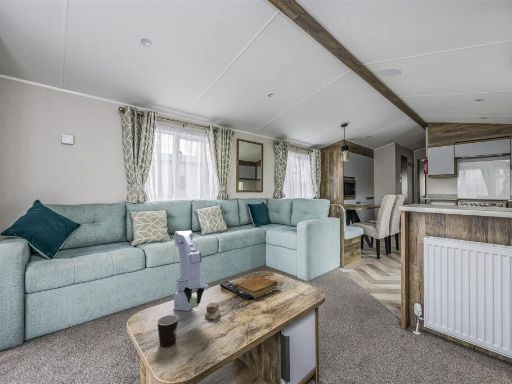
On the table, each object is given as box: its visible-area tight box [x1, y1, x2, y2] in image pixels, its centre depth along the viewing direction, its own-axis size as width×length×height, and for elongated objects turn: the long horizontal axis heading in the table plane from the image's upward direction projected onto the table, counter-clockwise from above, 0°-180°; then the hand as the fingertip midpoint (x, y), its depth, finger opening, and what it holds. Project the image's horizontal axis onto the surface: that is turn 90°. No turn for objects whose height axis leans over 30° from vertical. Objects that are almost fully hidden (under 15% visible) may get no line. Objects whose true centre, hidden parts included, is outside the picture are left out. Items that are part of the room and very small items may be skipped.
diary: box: [234, 275, 279, 300], centre depth 161 cm, size 23×19×6 cm
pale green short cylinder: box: [190, 295, 200, 309], centre depth 120 cm, size 4×4×4 cm
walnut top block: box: [206, 302, 220, 313], centre depth 127 cm, size 5×5×3 cm
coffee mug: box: [156, 314, 179, 348], centre depth 105 cm, size 12×9×10 cm
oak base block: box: [204, 307, 221, 320], centre depth 127 cm, size 6×6×3 cm
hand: (194, 302), depth 120 cm, fingers closed on pale green short cylinder, 4 cm apart
